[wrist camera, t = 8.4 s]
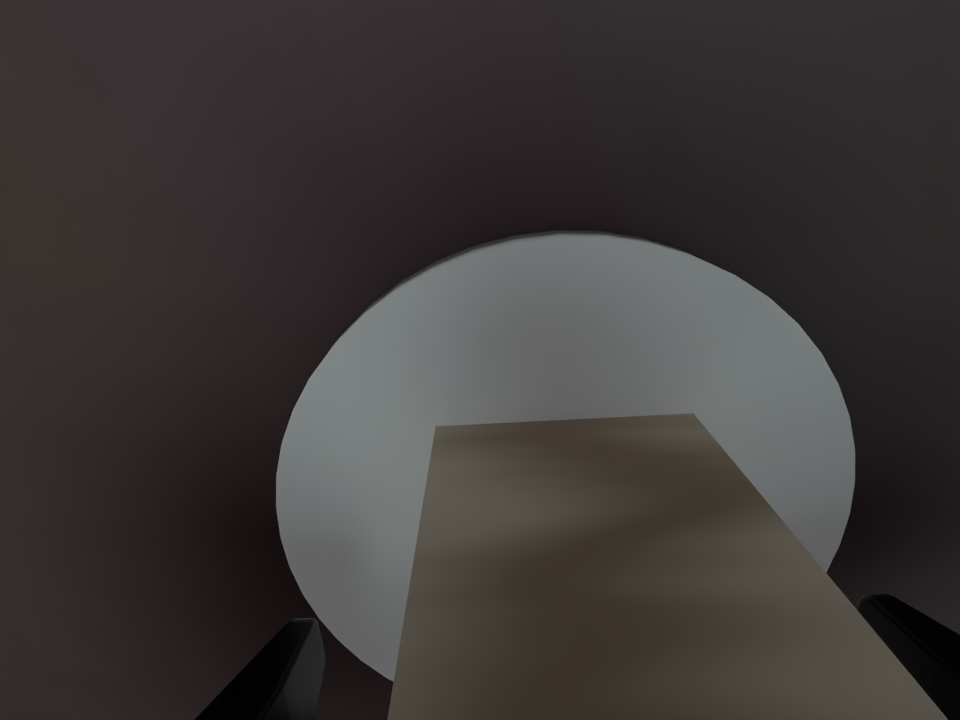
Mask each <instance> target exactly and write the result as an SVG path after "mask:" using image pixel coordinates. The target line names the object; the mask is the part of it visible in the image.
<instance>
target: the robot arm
mask: <svg viewBox="0 0 960 720" xmlns="http://www.w3.org/2000/svg"><path fill="white" fill-rule="evenodd" d="M857 611H858V612H859V613H860V614H861V615H862V617H863V618H864V619H865V620H866V621H867V623H868V624H869V625H870V626H871V627H872V629H873V630H874V631H875V632H876V633H877V635H878V636H879V637H880V638H881V639H882V641H883V642H884V643H885V644H886V645H887V647H888V648H889V649H890V650H891V651H892V653H893V654H894V655H895V656H896V658H897V659H898V660H899V661H900V662H901V664H902V665H903V666H904V667H905V668H906V670H907V671H908V672H909V673H910V674H911V676H912V677H913V678H914V679H915V680H916V682H917V683H918V684H919V685H920V686H921V688H922V689H923V690H924V691H925V692H926V694H927V695H928V696H929V697H930V698H931V700H932V701H933V702H934V703H935V704H936V706H937V707H938V708H939V709H940V710H941V712H942V713H943V714H944V715H945V716H946V718H947V719H948V720H960V635H959V634H957V633H956V632H954V631H952V630H951V629H949V628H947V627H945V626H944V625H942V624H940V623H939V622H937V621H935V620H933V619H932V618H930V617H928V616H926V615H925V614H923V613H921V612H920V611H918V610H916V609H914V608H913V607H911V606H909V605H908V604H906V603H904V602H902V601H901V600H899V599H897V598H895V597H893V596H891V595H886V594H880V595H865V596H863V597H861V598H860V600H859V602H858V606H857ZM324 667H325V652H324V647H323V642H322V638H321V633H320V629H319V624H318V622H317V620H316V619H315V618H296V619H292V620H290V621H289V622H288V623H287V624H286V625H285V626H284V627H283V628H282V629H281V630H280V631H279V632H278V633H277V634H276V635H275V636H274V637H273V638H272V639H271V640H270V641H269V642H268V643H267V645H266V646H265V647H264V648H263V649H262V650H261V651H260V652H259V653H258V654H257V655H256V656H255V657H254V658H253V659H252V660H251V661H250V662H249V663H248V664H247V665H246V666H245V667H244V669H243V670H242V671H241V672H240V673H239V674H238V675H237V676H236V677H235V678H234V679H233V680H232V681H231V682H230V683H229V684H228V685H227V686H226V687H225V688H224V689H223V690H222V692H221V693H220V694H219V695H218V696H217V697H216V698H215V699H214V700H213V701H212V702H211V703H210V704H209V705H208V706H207V707H206V708H205V709H204V710H203V711H202V712H201V713H200V714H199V716H198V717H197V718H196V719H195V720H315V716H316V711H317V705H318V700H319V695H320V689H321V684H322V679H323V673H324Z"/></svg>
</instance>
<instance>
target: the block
mask: <svg viewBox="0 0 960 720" xmlns="http://www.w3.org/2000/svg"><path fill="white" fill-rule="evenodd" d="M387 720H948V719H947V718H946V716H945V715H944V714H943V713H942V712H941V710H940V709H939V708H938V707H937V706H936V704H935V703H934V702H933V701H932V700H931V698H930V697H929V696H928V695H927V694H926V692H925V691H924V690H923V689H922V688H921V686H920V685H919V684H918V683H917V682H916V680H915V679H914V678H913V677H912V676H911V674H910V673H909V672H908V671H907V670H906V668H905V667H904V666H903V665H902V664H901V662H900V661H899V660H898V659H897V658H896V656H895V655H894V654H893V653H892V651H891V650H890V649H889V648H888V647H887V645H886V644H885V643H884V642H883V641H882V639H881V638H880V637H879V636H878V635H877V633H876V632H875V631H874V630H873V629H872V627H871V626H870V625H869V624H868V623H867V621H866V620H865V619H864V618H863V617H862V615H861V614H860V613H859V612H858V611H857V609H856V608H855V607H854V606H853V605H852V603H851V602H850V601H849V600H848V599H847V597H846V596H845V595H844V594H843V593H842V591H841V590H840V589H839V588H838V587H837V585H836V584H835V583H834V582H833V581H832V579H831V578H830V577H829V576H828V574H827V573H826V572H825V571H824V570H823V568H822V567H821V566H820V565H819V564H818V562H817V561H816V560H815V559H814V558H813V556H812V555H811V554H810V553H809V552H808V550H807V549H806V548H805V547H804V546H803V544H802V543H801V542H800V541H799V540H798V538H797V537H796V536H795V535H794V534H793V532H792V531H791V530H790V529H789V528H788V526H787V525H786V524H785V523H784V522H783V520H782V519H781V518H780V517H779V516H778V514H777V513H776V512H775V511H774V510H773V508H772V507H771V506H770V505H769V503H768V502H767V501H766V500H765V499H764V497H763V496H762V495H761V494H760V493H759V491H758V490H757V489H756V488H755V487H754V485H753V484H752V483H751V482H750V481H749V479H748V478H747V477H746V476H745V475H744V473H743V472H742V471H741V470H740V469H739V467H738V466H737V465H736V464H735V463H734V461H733V460H732V459H731V458H730V457H729V455H728V454H727V453H726V452H725V451H724V449H723V448H722V447H721V446H720V445H719V443H718V442H717V441H716V440H715V439H714V437H713V436H712V435H711V434H710V433H709V431H708V430H707V429H706V428H705V426H704V425H703V424H702V423H701V422H700V420H699V419H698V418H697V417H696V416H695V414H694V413H691V414H671V415H652V416H632V417H612V418H592V419H572V420H552V421H532V422H512V423H493V424H473V425H453V426H435V432H434V438H433V444H432V450H431V456H430V463H429V469H428V475H427V481H426V487H425V493H424V499H423V505H422V511H421V518H420V524H419V530H418V536H417V542H416V548H415V554H414V560H413V566H412V573H411V579H410V585H409V591H408V597H407V603H406V609H405V615H404V621H403V628H402V634H401V640H400V646H399V652H398V658H397V664H396V670H395V676H394V682H393V689H392V695H391V701H390V707H389V713H388V719H387Z"/></svg>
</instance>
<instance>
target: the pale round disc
mask: <svg viewBox="0 0 960 720" xmlns="http://www.w3.org/2000/svg"><path fill="white" fill-rule="evenodd" d="M691 413H694V414H695V416H696V417H697V418H698V419H699V420H700V422H701V423H702V424H703V425H704V426H705V428H706V429H707V430H708V431H709V433H710V434H711V435H712V436H713V437H714V439H715V440H716V441H717V442H718V443H719V445H720V446H721V447H722V448H723V449H724V451H725V452H726V453H727V454H728V455H729V457H730V458H731V459H732V460H733V461H734V463H735V464H736V465H737V466H738V467H739V469H740V470H741V471H742V472H743V473H744V475H745V476H746V477H747V478H748V479H749V481H750V482H751V483H752V484H753V485H754V487H755V488H756V489H757V490H758V491H759V493H760V494H761V495H762V496H763V497H764V499H765V500H766V501H767V502H768V503H769V505H770V506H771V507H772V508H773V510H774V511H775V512H776V513H777V514H778V516H779V517H780V518H781V519H782V520H783V522H784V523H785V524H786V525H787V526H788V528H789V529H790V530H791V531H792V532H793V534H794V535H795V536H796V537H797V538H798V540H799V541H800V542H801V543H802V544H803V546H804V547H805V548H806V549H807V550H808V552H809V553H810V554H811V555H812V556H813V558H814V559H815V560H816V561H817V562H818V564H819V565H820V566H821V567H822V568H823V570H824V571H825V572H827V570H828V568H829V566H830V564H831V562H832V560H833V558H834V556H835V554H836V552H837V550H838V548H839V545H840V543H841V540H842V537H843V534H844V531H845V527H846V524H847V521H848V518H849V515H850V510H851V504H852V498H853V491H854V485H855V446H854V440H853V434H852V428H851V422H850V416H849V413H848V410H847V407H846V404H845V402H844V399H843V396H842V393H841V390H840V387H839V384H838V382H837V381H836V379H835V377H834V375H833V373H832V371H831V370H830V368H829V366H828V364H827V362H826V360H825V359H824V357H823V355H822V353H821V352H820V351H819V349H818V348H817V347H816V346H815V344H814V343H813V342H812V340H811V339H810V338H809V337H808V335H807V334H806V333H805V332H804V330H803V329H802V328H801V327H800V325H799V324H798V323H797V322H796V321H795V320H794V319H792V318H791V317H790V316H789V315H788V314H787V313H786V312H785V311H784V310H783V309H781V308H780V307H779V306H778V305H777V304H776V303H775V302H774V301H773V300H772V299H770V298H769V297H768V296H766V295H765V294H763V293H762V292H760V291H759V290H757V289H756V288H754V287H753V286H751V285H749V284H748V283H746V282H745V281H743V280H742V279H740V278H739V277H737V276H736V275H734V274H732V273H729V272H727V271H725V270H723V269H721V268H719V267H717V266H714V265H712V264H710V263H708V262H706V261H704V260H701V259H699V258H697V257H695V256H693V255H691V254H688V253H686V252H684V251H682V250H680V249H678V248H675V247H671V246H668V245H664V244H661V243H658V242H654V241H651V240H648V239H644V238H641V237H637V236H630V235H623V234H616V233H610V232H603V231H584V230H553V231H545V232H536V233H528V234H520V235H513V236H509V237H505V238H501V239H497V240H493V241H490V242H486V243H482V244H478V245H474V246H472V247H469V248H467V249H464V250H462V251H459V252H457V253H454V254H452V255H449V256H447V257H444V258H442V259H439V260H437V261H435V262H433V263H431V264H430V265H428V266H426V267H424V268H423V269H421V270H419V271H417V272H416V273H414V274H412V275H410V276H409V277H407V278H405V279H403V280H402V281H400V282H399V283H398V284H396V285H395V286H394V287H392V288H391V289H390V290H389V291H387V292H386V293H385V294H383V295H382V296H381V297H379V298H378V299H377V300H376V301H374V302H373V303H372V304H370V305H369V306H368V307H367V309H366V310H365V311H364V312H363V313H362V314H361V315H360V316H359V317H358V318H357V319H356V320H355V321H354V322H353V323H352V324H351V325H350V326H349V327H348V328H347V329H346V330H345V331H344V332H343V334H342V335H341V336H340V338H339V339H338V340H337V341H336V343H335V344H334V345H333V347H332V348H331V349H330V351H329V352H328V353H327V355H326V356H325V358H324V359H323V360H322V362H321V363H320V364H319V366H318V367H317V369H316V370H315V371H314V373H313V374H312V375H311V377H310V378H309V380H308V382H307V384H306V386H305V388H304V390H303V392H302V394H301V395H300V397H299V399H298V401H297V403H296V405H295V407H294V409H293V411H292V414H291V417H290V420H289V423H288V426H287V429H286V432H285V435H284V438H283V441H282V444H281V450H280V456H279V462H278V468H277V474H276V511H277V518H278V524H279V531H280V538H281V541H282V544H283V548H284V551H285V554H286V557H287V560H288V564H289V567H290V569H291V571H292V573H293V575H294V577H295V579H296V581H297V583H298V586H299V588H300V590H301V592H302V594H303V595H304V597H305V598H306V600H307V601H308V603H309V604H310V606H311V607H312V609H313V610H314V612H315V613H316V615H317V616H318V618H319V619H320V620H321V621H322V623H323V624H324V625H325V626H326V627H327V628H328V629H329V630H330V632H331V633H332V634H333V635H334V636H335V637H336V638H337V639H338V641H339V642H341V643H342V644H343V645H344V646H345V647H346V648H347V649H349V650H350V651H351V652H352V653H353V654H354V655H355V656H357V657H358V658H359V659H360V660H361V661H362V662H364V663H365V664H367V665H368V666H370V667H371V668H373V669H374V670H376V671H377V672H378V673H380V674H381V675H383V676H384V677H386V678H387V679H389V680H391V681H393V682H394V676H395V670H396V664H397V658H398V652H399V646H400V640H401V634H402V628H403V621H404V615H405V609H406V603H407V597H408V591H409V585H410V579H411V573H412V566H413V560H414V554H415V548H416V542H417V536H418V530H419V524H420V518H421V511H422V505H423V499H424V493H425V487H426V481H427V475H428V469H429V463H430V456H431V450H432V444H433V438H434V432H435V426H453V425H473V424H493V423H512V422H532V421H552V420H572V419H592V418H612V417H632V416H652V415H671V414H691Z"/></svg>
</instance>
